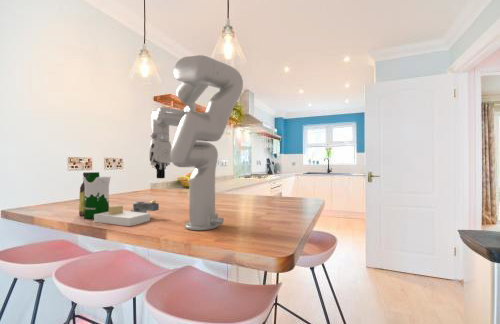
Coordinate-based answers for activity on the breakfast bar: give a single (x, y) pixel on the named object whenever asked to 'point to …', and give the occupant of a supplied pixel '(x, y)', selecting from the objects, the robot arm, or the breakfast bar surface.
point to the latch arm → (146, 206)
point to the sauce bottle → (82, 196)
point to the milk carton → (96, 194)
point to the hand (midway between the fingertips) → (160, 178)
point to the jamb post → (139, 211)
